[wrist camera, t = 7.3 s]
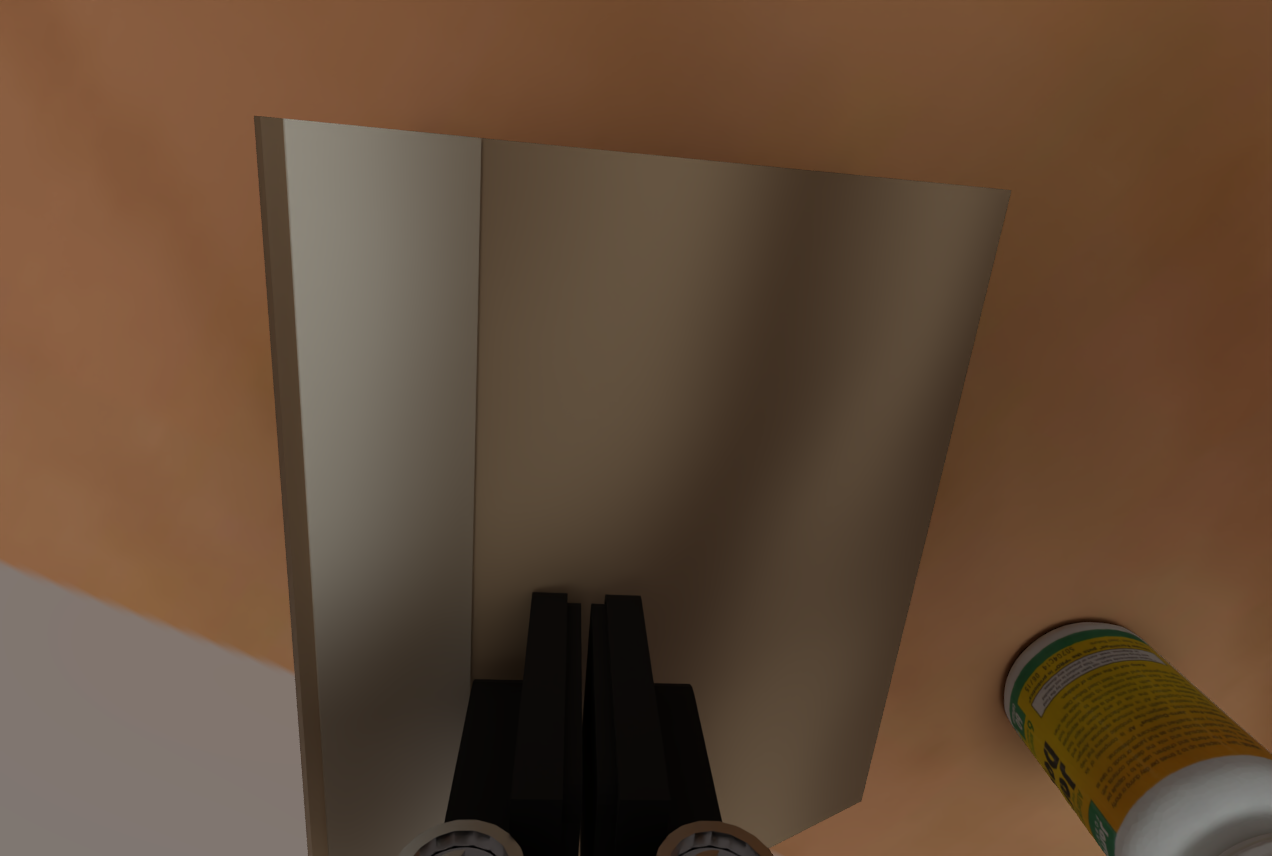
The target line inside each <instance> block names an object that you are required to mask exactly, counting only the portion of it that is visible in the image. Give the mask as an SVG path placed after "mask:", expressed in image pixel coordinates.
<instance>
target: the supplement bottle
mask: <svg viewBox="0 0 1272 856" xmlns="http://www.w3.org/2000/svg"><path fill="white" fill-rule="evenodd" d="M1004 708H1005V712H1006V715H1007V717H1008V719H1009V721H1010V723H1011V724H1012V726H1013V727H1014V729H1015V730H1016V732H1017V733H1018V734H1019V736H1020V738H1021V739H1022V740H1023V742H1024V743H1025V744H1026V745H1027V747H1028V748H1029V749H1030V751H1031V752H1032V754H1033V755H1034V756H1035V758H1036V759H1037V761H1038V762H1039V763H1040V765H1041V766H1042V767H1043V769H1044V770H1045V772H1046V773H1047V774H1048V776H1049V777H1050V778H1051V780H1052V781H1053V783H1054V784H1055V785H1056V786H1057V787H1058V788H1059V790H1060V792H1061V793H1062V795H1063V796H1064V798H1065V799H1066V801H1067V802H1068V803H1069V805H1070V806H1071V807H1072V809H1073V810H1074V811H1075V812H1076V814H1077V815H1078V817H1079V818H1080V820H1081V821H1082V823H1083V824H1084V825H1085V827H1086V828H1087V830H1088V831H1089V833H1090V834H1091V835H1092V836H1093V838H1094V839H1095V840H1096V842H1097V843H1098V845H1099V846H1100V847H1101V849H1102V850H1103V852H1104V853H1105V854H1106V856H1272V754H1271V753H1270V752H1269V751H1268V750H1267V749H1266V748H1265V747H1263V746H1262V745H1261V744H1260V743H1259V742H1258V741H1257V740H1255V739H1254V738H1253V737H1252V736H1251V735H1250V734H1249V733H1247V732H1246V731H1245V730H1244V729H1243V728H1242V727H1241V726H1239V725H1238V724H1237V723H1236V722H1235V721H1234V720H1233V719H1231V718H1230V717H1229V716H1228V715H1227V714H1226V713H1225V712H1223V711H1222V710H1221V709H1220V708H1219V707H1218V706H1217V705H1215V704H1214V703H1213V702H1212V701H1211V700H1210V699H1209V698H1208V697H1207V696H1206V695H1204V694H1203V693H1202V692H1201V691H1200V690H1199V689H1198V688H1197V687H1195V686H1194V685H1193V684H1192V683H1191V682H1190V681H1189V680H1188V679H1186V678H1185V677H1184V676H1183V675H1182V674H1181V673H1180V672H1179V671H1177V670H1176V669H1175V668H1174V667H1173V666H1172V665H1171V664H1170V663H1168V662H1167V661H1166V660H1165V659H1164V658H1163V657H1162V656H1161V655H1159V654H1158V653H1157V652H1156V651H1155V650H1154V649H1153V648H1152V647H1150V646H1149V645H1148V644H1147V643H1146V642H1145V641H1144V640H1143V639H1141V638H1140V637H1139V636H1137V635H1136V634H1134V633H1133V632H1131V631H1129V630H1128V629H1126V628H1124V627H1121V626H1117V625H1112V624H1108V623H1098V622H1081V623H1074V624H1070V625H1065V626H1062V627H1059V628H1057V629H1054V630H1052V631H1050V632H1048V633H1046V634H1045V635H1043V636H1041V637H1040V638H1038V639H1037V640H1035V641H1034V642H1033V643H1032V644H1031V645H1029V646H1028V647H1027V648H1026V649H1025V650H1024V651H1023V652H1022V654H1021V655H1020V656H1019V657H1018V658H1017V660H1016V661H1015V663H1014V664H1013V666H1012V668H1011V670H1010V672H1009V674H1008V677H1007V680H1006V684H1005V691H1004Z"/></svg>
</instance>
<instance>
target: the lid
mask: <svg viewBox="0 0 1272 856" xmlns="http://www.w3.org/2000/svg"><path fill="white" fill-rule="evenodd" d="M254 123H255V137H256V150H257V164H258V178H259V191H260V205H261V219H262V232H263V246H264V260H265V273H266V287H267V301H268V314H269V328H270V341H271V355H272V369H273V382H274V396H275V410H276V423H277V437H278V451H279V464H280V478H281V492H282V505H283V519H284V533H285V546H286V560H287V574H288V587H289V601H290V615H291V628H292V642H293V656H294V669H295V682H296V697H297V709H298V724H299V737H300V751H301V764H302V778H303V792H304V805H305V819H306V832H307V847H308V856H399V854H400V853H401V851H402V849H403V848H404V847H405V846H406V845H407V844H409V843H410V842H411V841H412V840H413V839H414V838H415V837H416V836H417V835H419V834H421V833H422V832H424V831H426V830H428V829H430V828H432V827H434V826H436V825H438V824H442V823H444V821H445V816H446V811H447V806H448V801H449V796H450V791H451V786H452V781H453V777H454V772H455V767H456V762H457V757H458V752H459V747H460V742H461V737H462V732H463V727H464V722H465V717H466V712H467V707H468V702H469V697H470V692H471V688H472V684H473V681H474V679H495V680H523V675H524V666H525V656H526V647H527V637H528V628H529V618H530V609H531V600H532V592H547V593H568V600H567V603H581V643H582V720H583V706H584V693H585V679H586V665H587V652H588V638H589V624H590V611H591V604H592V603H593V604H604V600H605V595H606V594H609V595H639V596H641V599H642V606H643V612H644V619H645V626H646V633H647V640H648V647H649V653H650V660H651V667H652V674H653V681H654V683H676V684H690V685H691V686H692V688H693V691H694V695H695V699H696V704H697V709H698V713H699V718H700V722H701V727H702V731H703V736H704V741H705V745H706V750H707V754H708V759H709V763H710V768H711V773H712V777H713V782H714V786H715V791H716V795H717V800H718V805H719V809H720V814H721V818H722V822H724V823H727V824H731V825H735V826H738V827H740V828H741V829H743V830H745V831H747V832H749V833H751V834H752V835H754V836H755V837H757V838H758V839H759V840H760V841H761V842H762V843H763V844H764V845H765V846H766V847H768V848H770V847H772V846H774V845H776V844H778V843H780V842H782V841H784V840H786V839H788V838H790V837H792V836H794V835H796V834H798V833H800V832H802V831H804V830H806V829H808V828H810V827H811V826H813V825H815V824H817V823H819V822H821V821H823V820H825V819H827V818H829V817H831V816H833V815H835V814H837V813H839V812H841V811H843V810H845V809H847V808H849V807H851V806H853V805H855V804H856V803H858V802H860V801H861V800H862V796H863V792H864V788H865V784H866V780H867V776H868V772H869V768H870V763H871V759H872V755H873V751H874V747H875V743H876V739H877V735H878V731H879V727H880V723H881V719H882V715H883V711H884V707H885V702H886V698H887V694H888V690H889V686H890V682H891V678H892V674H893V670H894V666H895V662H896V658H897V654H898V650H899V646H900V641H901V637H902V633H903V629H904V625H905V621H906V617H907V613H908V609H909V605H910V601H911V597H912V593H913V589H914V584H915V580H916V576H917V572H918V568H919V564H920V560H921V556H922V552H923V548H924V544H925V540H926V536H927V532H928V528H929V523H930V519H931V515H932V511H933V507H934V503H935V499H936V495H937V491H938V487H939V483H940V479H941V475H942V471H943V467H944V462H945V458H946V454H947V450H948V446H949V442H950V438H951V434H952V430H953V426H954V422H955V418H956V414H957V410H958V405H959V401H960V397H961V393H962V389H963V385H964V381H965V377H966V373H967V369H968V365H969V361H970V357H971V353H972V349H973V344H974V340H975V336H976V332H977V328H978V324H979V320H980V316H981V312H982V308H983V304H984V300H985V296H986V292H987V288H988V283H989V279H990V275H991V271H992V267H993V263H994V259H995V255H996V251H997V247H998V243H999V239H1000V235H1001V231H1002V226H1003V222H1004V218H1005V214H1006V210H1007V206H1008V202H1009V198H1010V194H1011V190H1003V189H993V188H983V187H973V186H963V185H953V184H942V183H932V182H922V181H912V180H902V179H892V178H881V177H871V176H861V175H851V174H841V173H831V172H820V171H810V170H800V169H790V168H780V167H770V166H760V165H749V164H739V163H729V162H719V161H709V160H699V159H688V158H678V157H668V156H658V155H648V154H638V153H627V152H617V151H607V150H597V149H587V148H577V147H566V146H556V145H546V144H536V143H526V142H516V141H505V140H495V139H485V138H475V137H465V136H455V135H445V134H435V133H425V132H414V131H404V130H394V129H384V128H374V127H364V126H353V125H343V124H333V123H323V122H313V121H303V120H292V119H282V118H272V117H262V116H254ZM578 856H580V841H579V854H578Z"/></svg>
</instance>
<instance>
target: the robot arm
mask: <svg viewBox="0 0 1272 856" xmlns="http://www.w3.org/2000/svg"><path fill="white" fill-rule="evenodd" d="M567 600H568V593H547V592H532V600H531V609H530V618H529V628H528V637H527V647H526V656H525V666H524V675H523V680H495V679H474V681H473V684H472V688H471V692H470V697H469V702H468V707H467V712H466V717H465V722H464V727H463V732H462V737H461V742H460V747H459V752H458V757H457V762H456V767H455V772H454V777H453V781H452V786H451V791H450V796H449V801H448V806H447V811H446V816H445V821H444V823H442V824H438V825H436V826H434V827H432V828H430V829H428V830H426V831H424V832H422V833H421V834H419V835H417V836H416V837H415V838H414V839H413V840H412V841H411V842H410V843H409V844H407V845H406V846H405V847H404V848H403V849H402V851H401V853H400V854H399V856H578V854H579V841H580V856H773V854H772V853H771V851H770V850H769V848H768V847H766V846H765V845H764V844H763V843H762V842H761V841H760V840H759V839H758V838H757V837H755V836H754V835H752V834H751V833H749V832H747V831H745V830H743V829H741V828H740V827H738V826H735V825H731V824H727V823H724V822H722V818H721V814H720V809H719V805H718V800H717V795H716V791H715V786H714V782H713V777H712V773H711V768H710V763H709V759H708V754H707V750H706V745H705V741H704V736H703V731H702V727H701V722H700V718H699V713H698V709H697V704H696V699H695V695H694V691H693V688H692V686H691V685H690V684H676V683H654V681H653V674H652V667H651V660H650V653H649V647H648V640H647V633H646V626H645V619H644V612H643V606H642V599H641V596H639V595H609V594H606V595H605V600H604V604H593V603H592V604H591V611H590V624H589V638H588V652H587V665H586V679H585V693H584V706H583V720H582V643H581V603H567Z"/></svg>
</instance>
